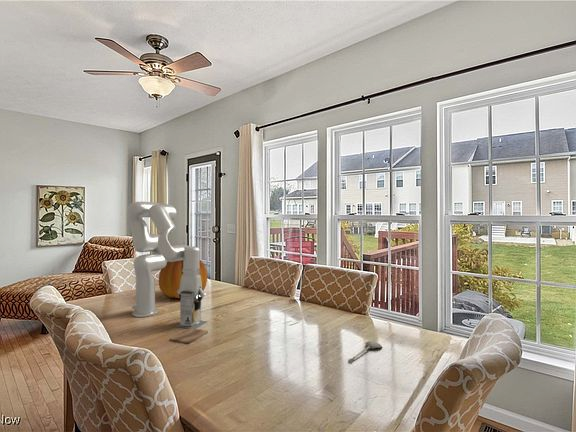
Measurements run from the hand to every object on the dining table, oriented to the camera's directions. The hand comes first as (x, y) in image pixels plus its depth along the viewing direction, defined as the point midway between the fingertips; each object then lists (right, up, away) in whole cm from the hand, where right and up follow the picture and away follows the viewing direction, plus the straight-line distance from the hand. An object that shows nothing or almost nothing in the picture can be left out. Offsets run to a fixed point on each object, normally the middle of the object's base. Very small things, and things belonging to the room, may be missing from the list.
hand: (190, 308), depth 152 cm
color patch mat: (0, -8, 0) cm, 8 cm away
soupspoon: (+77, -9, -30) cm, 84 cm away
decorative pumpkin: (-21, -7, +52) cm, 56 cm away
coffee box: (0, -7, 0) cm, 7 cm away
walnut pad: (+4, -8, -15) cm, 18 cm away
